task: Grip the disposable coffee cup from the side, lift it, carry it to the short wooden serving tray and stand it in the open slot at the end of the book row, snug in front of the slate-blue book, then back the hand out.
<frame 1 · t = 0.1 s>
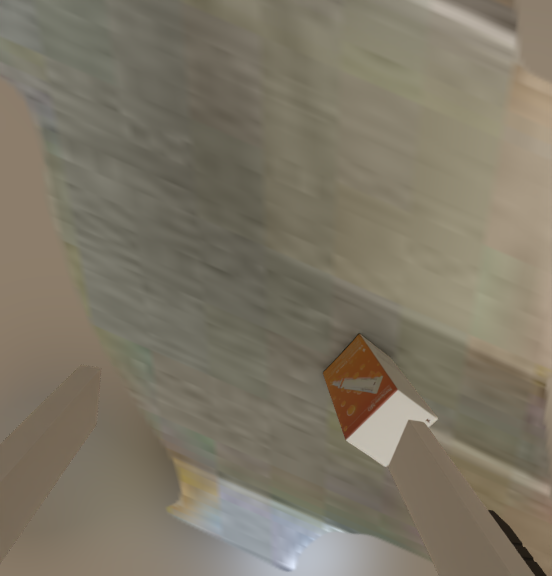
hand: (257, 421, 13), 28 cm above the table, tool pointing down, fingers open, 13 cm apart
small box: (355, 363, 45), on the table
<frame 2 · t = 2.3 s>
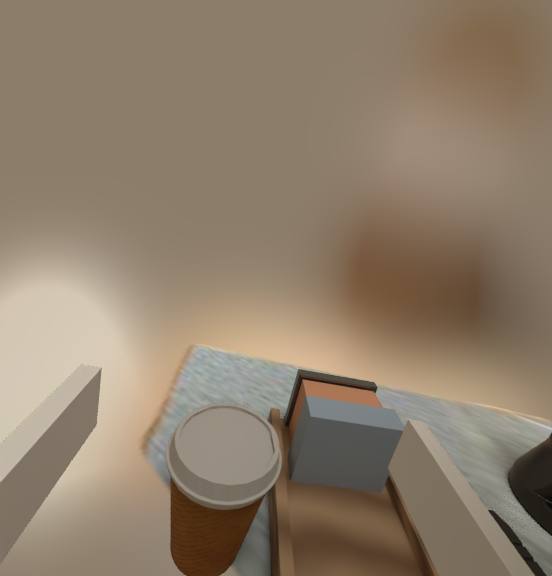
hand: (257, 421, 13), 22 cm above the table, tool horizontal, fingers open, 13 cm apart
disposable coffee cup: (205, 541, 29), on the table
books: (338, 429, 39), point 6 cm above the table
bookend: (329, 403, 44), point 6 cm above the table
wooden serving tray: (346, 553, 31), on the table
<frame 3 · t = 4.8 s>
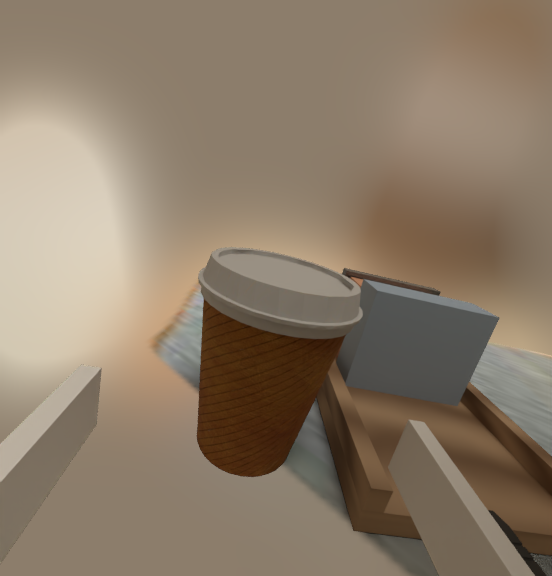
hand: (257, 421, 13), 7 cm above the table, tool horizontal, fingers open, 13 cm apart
disposable coffee cup: (243, 439, 21), on the table
books: (399, 331, 31), point 6 cm above the table
bookend: (379, 314, 36), point 6 cm above the table
wooden serving tray: (431, 464, 23), on the table
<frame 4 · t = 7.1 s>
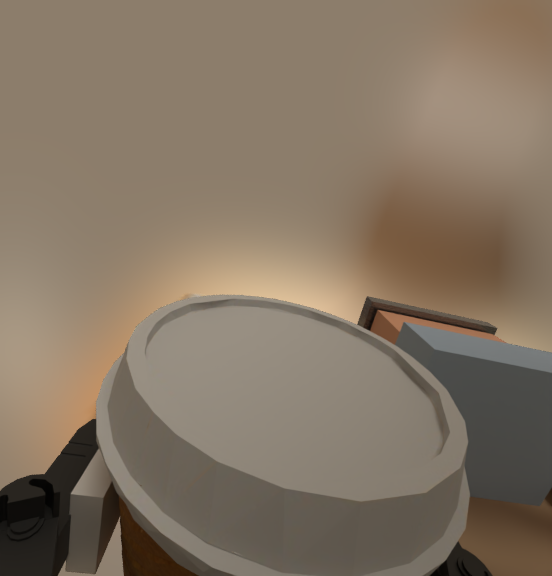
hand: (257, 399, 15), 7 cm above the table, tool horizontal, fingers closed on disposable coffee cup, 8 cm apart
books: (449, 391, 22), point 6 cm above the table
bookend: (412, 356, 27), point 6 cm above the table
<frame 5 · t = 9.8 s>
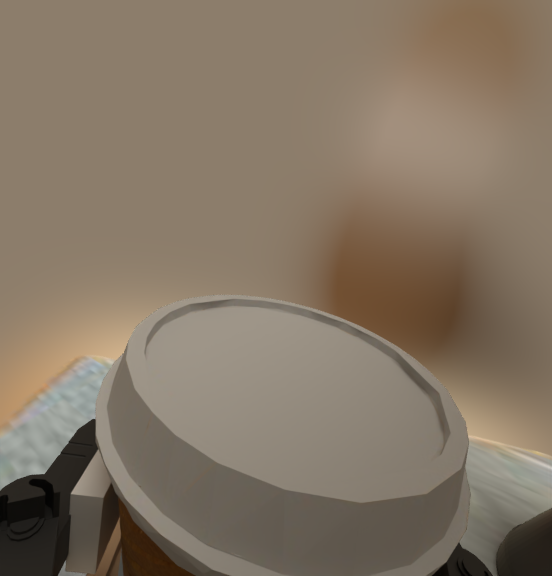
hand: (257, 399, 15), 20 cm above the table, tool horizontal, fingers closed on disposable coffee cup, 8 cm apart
when the fingers open (9 cm above the table, at t = 12.8 s): disposable coffee cup stays where it is, resting on wooden serving tray.
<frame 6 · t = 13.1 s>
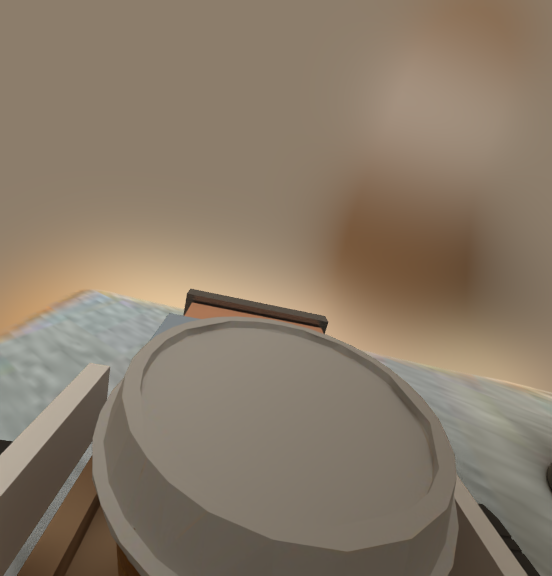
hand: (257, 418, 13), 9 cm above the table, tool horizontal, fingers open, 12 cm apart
books: (246, 387, 21), point 6 cm above the table
bookend: (248, 351, 26), point 6 cm above the table
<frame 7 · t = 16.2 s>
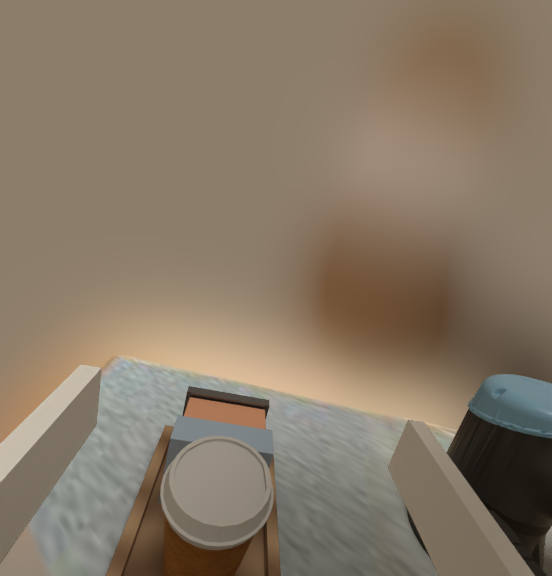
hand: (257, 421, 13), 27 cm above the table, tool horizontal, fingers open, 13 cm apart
disposable coffee cup: (197, 573, 29), point 1 cm above the table, touching wooden serving tray
books: (219, 449, 38), point 6 cm above the table
bookend: (223, 420, 43), point 6 cm above the table
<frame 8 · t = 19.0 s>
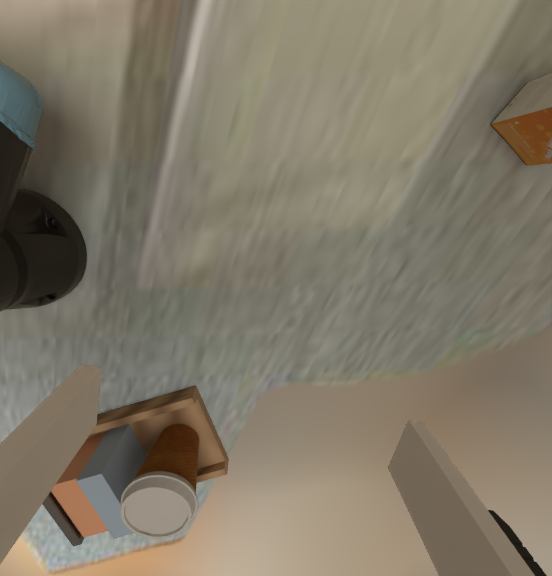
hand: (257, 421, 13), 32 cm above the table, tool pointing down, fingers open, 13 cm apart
disposable coffee cup: (179, 438, 50), point 1 cm above the table, touching wooden serving tray
books: (106, 482, 46), point 6 cm above the table
bookend: (74, 490, 46), point 6 cm above the table
small box: (525, 126, 40), on the table
wooden serving tray: (181, 433, 51), on the table
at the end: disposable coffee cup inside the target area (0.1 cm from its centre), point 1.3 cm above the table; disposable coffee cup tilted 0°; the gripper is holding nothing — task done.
